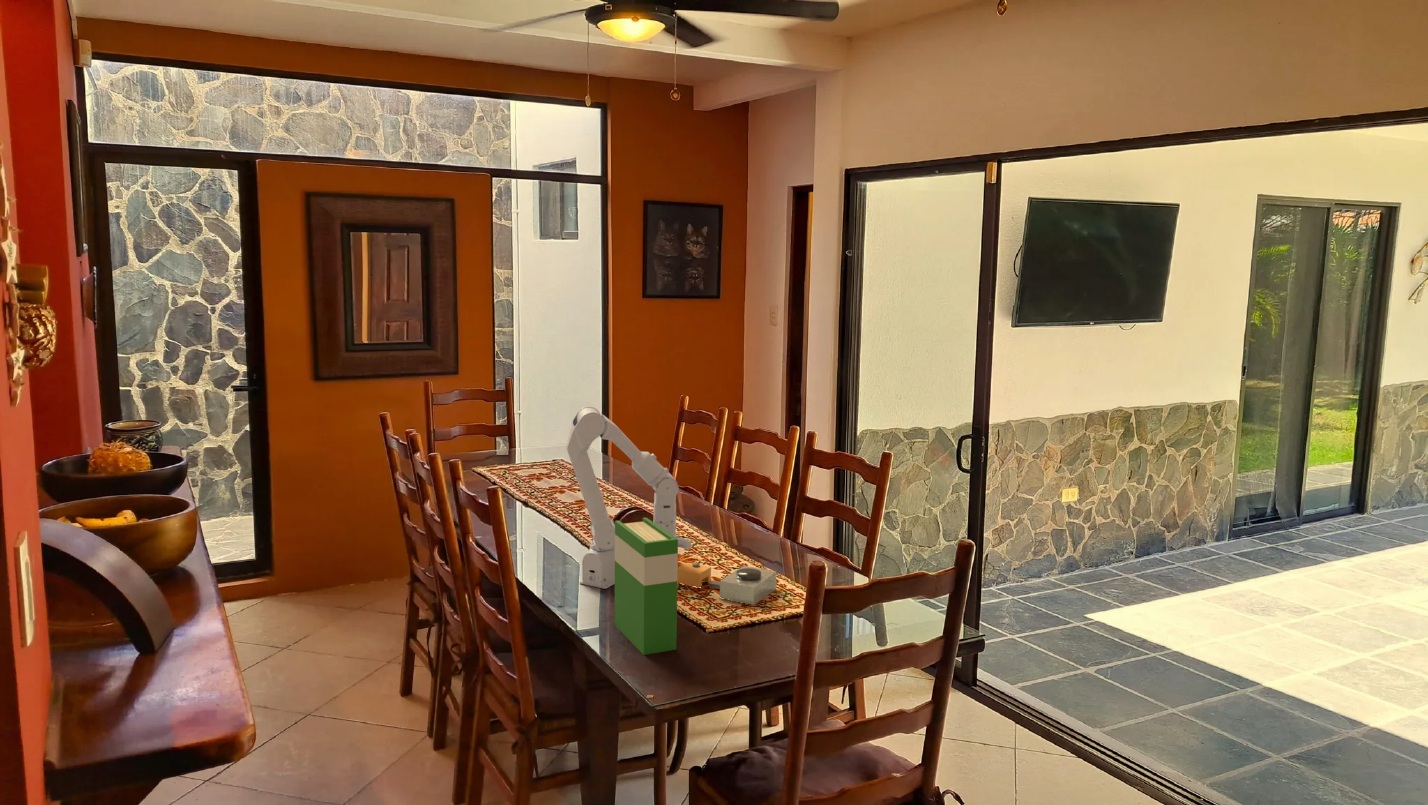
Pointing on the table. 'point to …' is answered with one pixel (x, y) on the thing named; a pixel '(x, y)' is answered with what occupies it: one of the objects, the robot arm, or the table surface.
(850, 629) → the table surface
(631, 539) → the hardback book
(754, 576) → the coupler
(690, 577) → the lock block
